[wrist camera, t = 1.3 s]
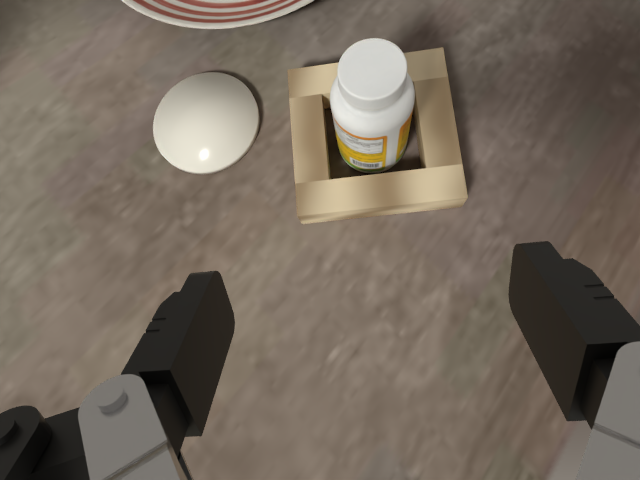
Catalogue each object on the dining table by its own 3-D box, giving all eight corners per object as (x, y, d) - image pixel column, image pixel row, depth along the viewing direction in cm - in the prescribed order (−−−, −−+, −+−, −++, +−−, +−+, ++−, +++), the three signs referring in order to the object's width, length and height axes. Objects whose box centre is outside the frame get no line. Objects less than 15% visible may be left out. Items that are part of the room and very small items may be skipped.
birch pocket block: (302, 223, 32) (297, 216, 30) (292, 85, 35) (287, 69, 33) (461, 206, 31) (467, 197, 29) (438, 65, 34) (443, 47, 32)
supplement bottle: (384, 100, 34) (388, 10, 24) (420, 153, 32) (439, 79, 23) (325, 133, 34) (308, 55, 24) (359, 187, 32) (354, 127, 23)
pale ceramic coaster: (135, 133, 36) (132, 130, 35) (206, 58, 37) (203, 53, 36) (208, 195, 34) (205, 193, 33) (281, 114, 35) (280, 110, 34)
